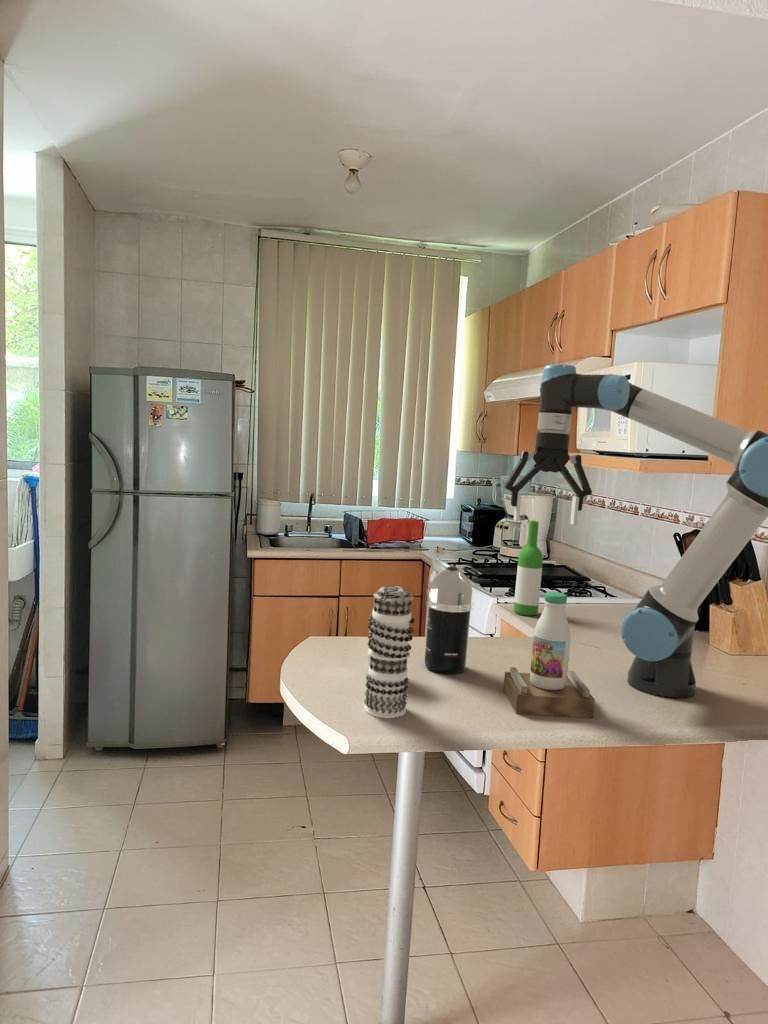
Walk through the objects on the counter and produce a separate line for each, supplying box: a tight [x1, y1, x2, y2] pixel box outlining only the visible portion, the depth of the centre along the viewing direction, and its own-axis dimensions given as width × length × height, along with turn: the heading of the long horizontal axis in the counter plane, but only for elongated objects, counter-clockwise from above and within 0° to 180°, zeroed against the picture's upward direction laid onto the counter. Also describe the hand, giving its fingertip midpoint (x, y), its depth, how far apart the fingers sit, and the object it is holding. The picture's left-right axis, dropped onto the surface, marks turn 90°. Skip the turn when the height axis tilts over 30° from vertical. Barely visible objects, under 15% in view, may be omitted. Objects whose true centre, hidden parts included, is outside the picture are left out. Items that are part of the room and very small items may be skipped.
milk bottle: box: [529, 591, 571, 690], centre depth 156 cm, size 8×8×20 cm
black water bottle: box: [424, 565, 473, 675], centre depth 174 cm, size 10×10×25 cm
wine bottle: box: [513, 520, 544, 617], centre depth 233 cm, size 8×8×30 cm
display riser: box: [503, 666, 596, 719], centre depth 157 cm, size 16×14×6 cm
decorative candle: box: [363, 585, 416, 719], centre depth 146 cm, size 9×9×25 cm
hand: (544, 522), depth 172 cm, fingers open, 13 cm apart
